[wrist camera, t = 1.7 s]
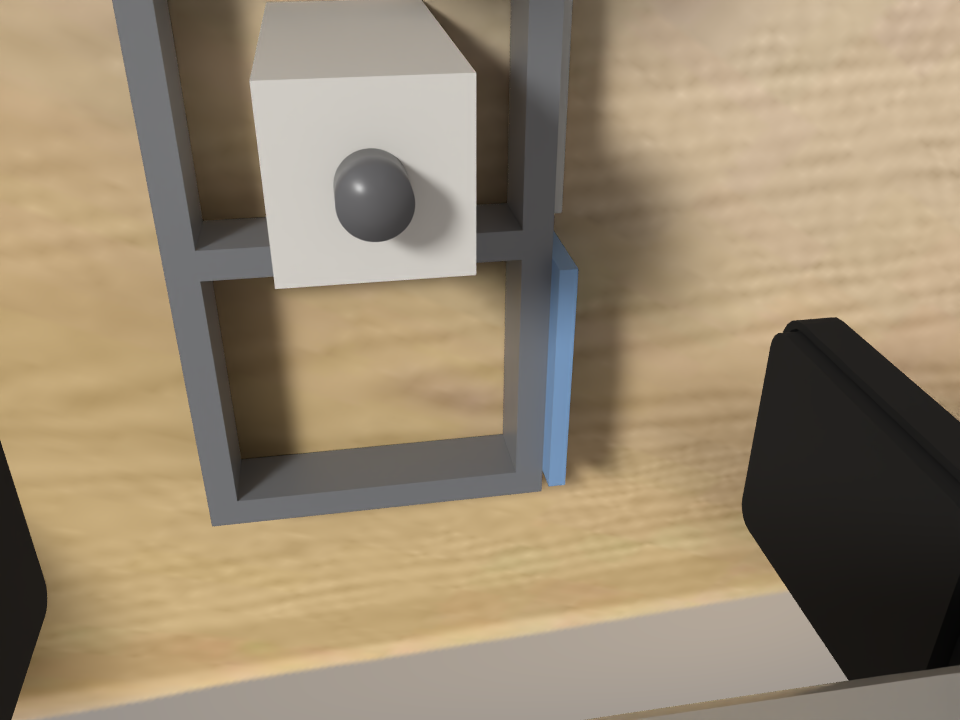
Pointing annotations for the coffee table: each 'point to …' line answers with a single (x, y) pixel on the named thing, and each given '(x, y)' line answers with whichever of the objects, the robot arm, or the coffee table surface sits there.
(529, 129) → the divided sorting tray
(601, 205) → the coffee table surface
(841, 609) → the robot arm
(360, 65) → the plug
